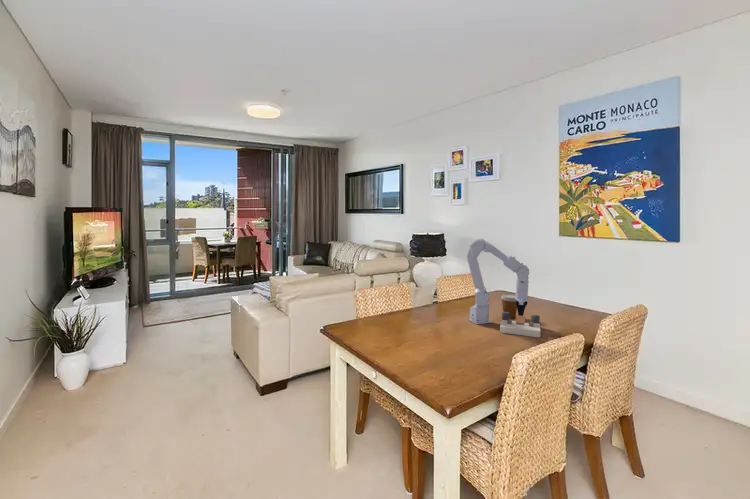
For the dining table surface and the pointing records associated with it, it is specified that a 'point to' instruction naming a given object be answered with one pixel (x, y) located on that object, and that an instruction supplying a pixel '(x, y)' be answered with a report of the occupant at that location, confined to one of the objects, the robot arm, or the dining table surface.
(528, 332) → the panel
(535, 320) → the post
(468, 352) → the dining table surface
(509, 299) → the disposable coffee cup
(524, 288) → the robot arm
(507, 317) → the post
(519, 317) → the tan rectangular block
